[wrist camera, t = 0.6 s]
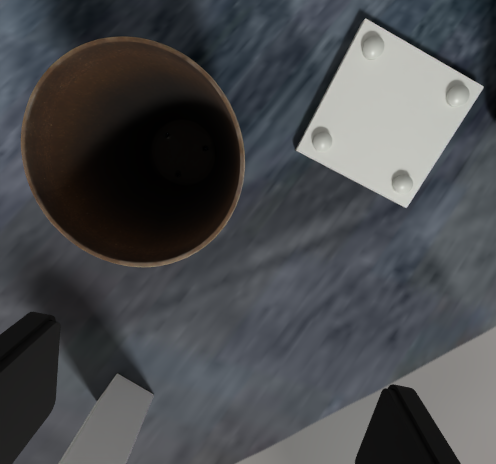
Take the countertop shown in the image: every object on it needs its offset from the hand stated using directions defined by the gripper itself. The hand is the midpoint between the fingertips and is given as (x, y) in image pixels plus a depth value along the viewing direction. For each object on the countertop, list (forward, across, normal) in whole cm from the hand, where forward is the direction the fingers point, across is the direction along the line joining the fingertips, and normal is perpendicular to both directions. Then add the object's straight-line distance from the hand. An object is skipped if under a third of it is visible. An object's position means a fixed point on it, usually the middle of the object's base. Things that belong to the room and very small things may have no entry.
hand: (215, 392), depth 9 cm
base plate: (+30, -12, -12) cm, 35 cm away
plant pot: (+30, +8, -4) cm, 32 cm away
